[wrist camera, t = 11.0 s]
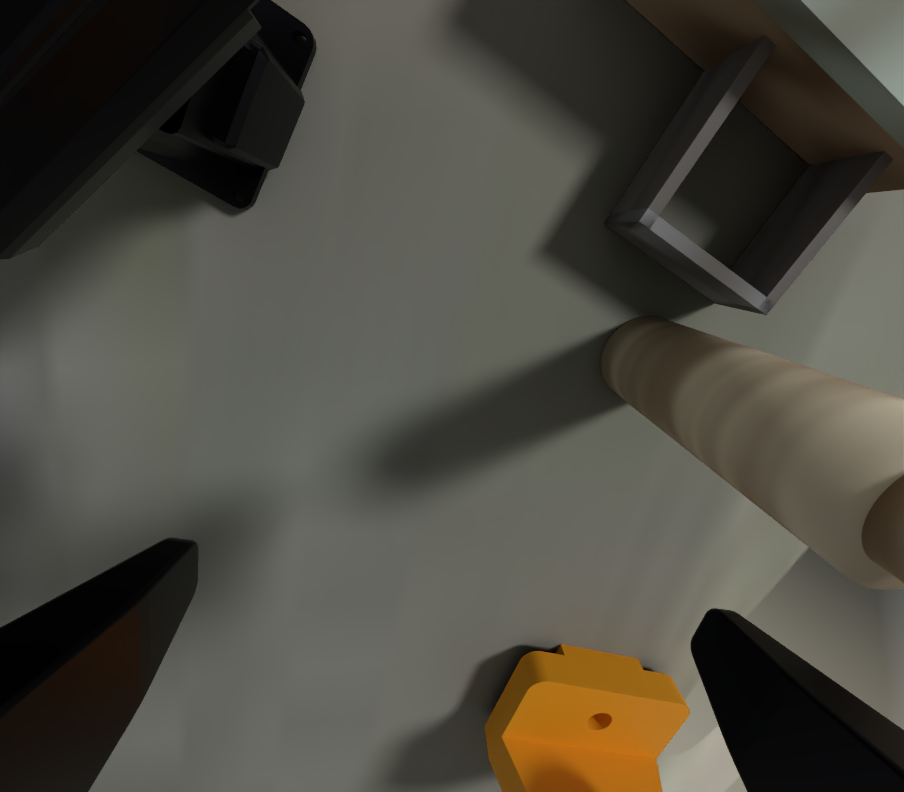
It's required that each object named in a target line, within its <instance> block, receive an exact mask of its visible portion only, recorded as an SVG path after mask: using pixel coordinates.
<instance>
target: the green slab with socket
mask: <svg viewBox="0 0 904 792" xmlns="http://www.w3.org/2000/svg"><path fill="white" fill-rule="evenodd" d="M626 1H627V2H628V3H629V4H630V5H631V6H632V7H633V8H634V9H636V10H637V11H638V12H639V13H640V14H641V15H642V16H643V17H645V18H646V19H647V20H648V21H649V22H650V23H651V24H652V25H653V26H655V27H656V28H657V29H658V30H659V31H660V32H661V33H662V34H664V35H665V36H666V37H667V38H668V39H669V40H670V41H671V42H673V43H674V44H675V45H676V46H677V47H678V48H679V49H680V50H681V51H683V52H684V53H685V54H686V55H687V56H688V57H689V58H690V59H692V60H693V61H694V62H695V63H696V64H697V65H698V66H699V67H700V68H702V69H703V70H704V72H703V73H702V75H701V76H700V78H699V79H698V81H697V82H696V84H695V86H694V87H693V89H692V90H691V92H690V93H689V95H688V96H687V98H686V99H685V101H684V102H683V104H682V105H681V107H680V109H679V110H678V112H677V113H676V115H675V116H674V118H673V119H672V121H671V122H670V124H669V125H668V127H667V128H666V130H665V132H664V133H663V135H662V136H661V138H660V139H659V141H658V142H657V144H656V145H655V147H654V148H653V150H652V151H651V153H650V155H649V156H648V158H647V159H646V161H645V162H644V164H643V165H642V167H641V168H640V170H639V171H638V173H637V174H636V176H635V177H634V179H633V181H632V182H631V184H630V185H629V187H628V188H627V190H626V191H625V193H624V194H623V196H622V197H621V199H620V200H619V202H618V204H617V205H616V207H615V208H614V210H613V211H612V213H611V214H610V216H609V217H608V219H607V220H606V222H605V223H604V224H605V225H606V226H608V227H609V228H611V229H612V230H613V231H615V232H616V233H618V234H619V235H620V236H622V237H623V238H625V239H626V240H627V241H629V242H630V243H632V244H633V245H634V246H636V247H637V248H639V249H640V250H641V251H643V252H644V253H646V254H647V255H648V256H650V257H651V258H652V259H654V260H655V261H657V262H658V263H659V264H661V265H662V266H664V267H665V268H666V269H668V270H669V271H671V272H672V273H673V274H675V275H676V276H678V277H679V278H680V279H682V280H683V281H685V282H686V283H687V284H689V285H690V286H692V287H693V288H694V289H696V290H697V291H699V292H700V293H701V294H703V295H704V296H706V297H707V298H708V299H710V300H711V301H713V302H714V303H715V304H719V305H724V306H728V307H733V308H737V309H742V310H746V311H751V312H755V313H759V314H764V315H767V314H768V312H769V311H770V310H771V309H772V307H773V306H774V305H775V304H776V303H777V301H778V300H779V299H780V298H781V296H782V295H783V294H784V293H785V292H786V290H787V289H788V288H789V287H790V285H791V284H792V283H793V282H794V280H795V279H796V278H797V277H798V276H799V274H800V273H801V272H802V271H803V269H804V268H805V267H806V266H807V265H808V263H809V262H810V261H811V260H812V258H813V257H814V256H815V255H816V254H817V252H818V251H819V250H820V249H821V247H822V246H823V245H824V244H825V243H826V241H827V240H828V239H829V238H830V236H831V235H832V234H833V233H834V232H835V230H836V229H837V228H838V227H839V225H840V224H841V223H842V222H843V221H844V219H845V218H846V217H847V216H848V214H849V213H850V212H851V211H852V209H853V208H854V207H855V206H856V205H857V203H858V202H859V201H860V200H861V198H862V197H863V196H864V195H865V194H866V193H871V192H881V191H891V190H901V189H904V0H626ZM737 101H738V102H740V103H741V104H742V105H743V106H744V107H745V108H746V109H747V110H749V111H750V112H751V113H752V114H753V115H754V116H755V117H756V118H757V119H759V120H760V121H761V122H762V123H763V124H764V125H765V126H766V127H768V128H769V129H770V130H771V131H772V132H773V133H774V134H775V135H776V136H778V137H779V138H780V139H781V140H782V141H783V142H784V143H785V144H787V145H788V146H789V147H790V148H791V149H792V150H793V151H794V152H795V153H797V154H798V155H799V156H800V157H801V158H802V159H803V160H804V161H806V162H807V163H808V164H809V166H808V168H807V169H806V170H805V172H804V173H803V174H802V175H801V177H800V178H799V179H798V181H797V182H796V183H795V185H794V186H793V187H792V189H791V190H790V191H789V192H788V194H787V195H786V196H785V198H784V199H783V200H782V202H781V203H780V204H779V206H778V207H777V208H776V209H775V211H774V212H773V213H772V215H771V216H770V217H769V219H768V220H767V221H766V223H765V224H764V225H763V227H762V228H761V229H760V230H759V232H758V233H757V234H756V236H755V237H754V238H753V240H752V241H751V242H750V244H749V245H748V246H747V247H746V249H745V250H744V251H743V253H742V254H741V255H740V257H739V258H738V259H737V261H736V262H735V263H734V264H733V266H732V267H731V268H730V269H728V268H727V267H726V266H724V265H723V264H722V263H720V262H719V261H718V260H716V259H715V258H714V257H712V256H711V255H710V254H709V253H707V252H706V251H705V250H703V249H702V248H701V247H699V246H698V245H697V244H695V243H694V242H693V241H691V240H690V239H689V238H687V237H686V236H685V235H683V234H682V233H681V232H679V231H678V230H677V229H675V228H674V227H673V226H671V225H670V224H669V223H667V222H666V221H665V220H663V219H662V218H661V217H659V215H660V214H661V212H662V211H663V209H664V208H665V206H666V205H667V203H668V202H669V200H670V199H671V198H672V196H673V195H674V193H675V192H676V190H677V189H678V187H679V186H680V184H681V183H682V182H683V180H684V179H685V177H686V176H687V174H688V173H689V171H690V170H691V168H692V167H693V166H694V164H695V163H696V161H697V160H698V158H699V157H700V155H701V154H702V152H703V151H704V149H705V148H706V147H707V145H708V144H709V142H710V141H711V139H712V138H713V136H714V135H715V133H716V132H717V131H718V129H719V128H720V126H721V125H722V123H723V122H724V120H725V119H726V117H727V116H728V115H729V113H730V112H731V110H732V109H733V107H734V106H735V104H736V103H737Z"/></svg>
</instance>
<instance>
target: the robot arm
mask: <svg viewBox="0 0 904 792" xmlns="http://www.w3.org/2000/svg"><path fill="white" fill-rule="evenodd" d="M298 36H303V37H305V38H306V45H305V47H304V48H302V49H297V48H295V46H294V41H295V39H296V37H298ZM315 52H316V41H315V39H314V37H313V35H312V33H311V31H310V29H309V28H308V27H307V26H306V25H305V24H304V23H302V22H301V21H299V20H298V19H297V18H295V17H294V16H292V15H291V14H289V13H288V12H287V11H285V10H284V9H282V8H281V7H280V6H278V5H277V4H275V3H274V2H273V1H271V0H0V259H9V258H12V257H14V256H17V255H19V254H21V253H24V252H26V251H28V250H31V249H33V248H35V247H38V246H40V245H41V244H42V243H43V242H44V241H45V240H46V239H47V238H48V237H49V236H50V235H51V234H52V233H53V232H54V231H55V230H56V229H57V228H58V227H59V226H60V225H61V224H62V223H63V222H64V221H65V220H66V219H67V218H68V217H69V216H70V215H71V214H72V213H73V212H74V211H75V210H76V209H77V208H78V207H79V206H80V205H81V204H82V203H83V202H84V201H85V200H86V199H87V198H89V197H90V196H91V195H92V194H93V193H94V192H95V191H96V190H97V189H98V188H99V187H100V186H101V185H102V184H103V183H104V182H105V181H106V180H107V179H108V178H109V177H110V176H111V175H112V174H113V173H114V172H115V171H116V170H117V169H118V168H119V167H120V166H121V165H122V164H123V163H124V162H125V161H126V160H127V159H128V158H129V157H130V156H131V155H132V154H133V153H134V152H135V151H138V152H139V153H141V154H143V155H145V156H146V157H148V158H150V159H152V160H153V161H155V162H157V163H159V164H160V165H162V166H164V167H166V168H167V169H169V170H171V171H173V172H174V173H176V174H178V175H180V176H181V177H183V178H185V179H187V180H188V181H190V182H192V183H194V184H195V185H197V186H199V187H201V188H202V189H204V190H206V191H208V192H209V193H211V194H213V195H215V196H216V197H218V198H220V199H222V200H223V201H225V202H227V203H229V204H230V205H232V206H234V207H237V208H240V209H249V208H250V207H252V206H253V205H254V203H255V202H256V199H257V197H258V195H259V192H260V190H261V187H262V185H263V182H264V180H265V177H266V175H267V172H268V170H271V169H275V168H278V167H279V165H280V162H281V160H282V157H283V155H284V153H285V150H286V148H287V145H288V143H289V140H290V138H291V135H292V133H293V131H294V128H295V126H296V123H297V121H298V118H299V116H300V114H301V111H302V109H303V106H304V103H305V101H304V98H303V95H302V92H301V91H300V90H301V88H302V86H303V83H304V81H305V78H306V76H307V73H308V71H309V68H310V66H311V63H312V61H313V58H314V56H315ZM238 188H242V189H244V191H245V193H246V196H245V199H244V200H243V201H239V200H238V199H237V197H236V190H237V189H238ZM197 581H198V545H197V543H196V542H195V541H193V540H187V539H179V538H167V539H164V540H162V541H160V542H158V543H157V544H155V545H153V546H151V547H149V548H147V549H145V550H144V551H142V552H140V553H138V554H136V555H134V556H132V557H131V558H129V559H127V560H125V561H123V562H121V563H119V564H118V565H116V566H114V567H112V568H110V569H108V570H106V571H105V572H103V573H101V574H99V575H97V576H95V577H93V578H92V579H90V580H88V581H86V582H84V583H82V584H80V585H79V586H77V587H75V588H73V589H71V590H69V591H67V592H66V593H64V594H62V595H60V596H58V597H56V598H54V599H52V600H51V601H49V602H47V603H45V604H43V605H41V606H39V607H38V608H36V609H34V610H32V611H30V612H28V613H26V614H25V615H23V616H21V617H19V618H17V619H15V620H13V621H12V622H10V623H8V624H6V625H4V626H2V627H0V792H88V791H89V790H90V788H91V786H92V785H93V783H94V781H95V780H96V778H97V776H98V775H99V773H100V771H101V770H102V768H103V766H104V765H105V763H106V761H107V760H108V758H109V756H110V755H111V753H112V751H113V750H114V748H115V747H116V745H117V743H118V742H119V740H120V738H121V737H122V735H123V733H124V732H125V730H126V728H127V727H128V725H129V723H130V722H131V720H132V718H133V716H134V715H135V713H136V711H137V709H138V708H139V706H140V704H141V702H142V701H143V699H144V697H145V695H146V693H147V691H148V689H149V687H150V685H151V683H152V681H153V679H154V677H155V675H156V672H157V670H158V668H159V666H160V664H161V662H162V660H163V658H164V656H165V654H166V652H167V650H168V648H169V646H170V644H171V642H172V639H173V637H174V635H175V633H176V631H177V629H178V627H179V625H180V623H181V621H182V619H183V617H184V615H185V613H186V611H187V609H188V606H189V604H190V602H191V600H192V598H193V596H194V593H195V590H196V587H197ZM691 652H692V656H693V658H694V661H695V664H696V666H697V669H698V672H699V674H700V677H701V680H702V682H703V685H704V687H705V690H706V692H707V695H708V698H709V701H710V703H711V706H712V709H713V711H714V714H715V716H716V719H717V722H718V725H719V727H720V730H721V732H722V735H723V737H724V740H725V743H726V745H727V748H728V750H729V752H730V755H731V757H732V759H733V761H734V764H735V766H736V768H737V770H738V772H739V775H740V777H741V779H742V781H743V783H744V785H745V787H746V790H747V792H904V730H903V729H901V728H900V727H899V726H897V725H896V724H894V723H893V722H891V721H890V720H889V719H887V718H886V717H884V716H883V715H881V714H880V713H879V712H877V711H876V710H874V709H873V708H871V707H870V706H869V705H867V704H866V703H864V702H863V701H862V700H860V699H859V698H857V697H856V696H854V695H853V694H851V693H850V692H849V691H847V690H846V689H844V688H843V687H842V686H840V685H839V684H837V683H836V682H834V681H833V680H832V679H830V678H829V677H827V676H826V675H824V674H823V673H822V672H820V671H819V670H817V669H816V668H815V667H813V666H812V665H810V664H809V663H808V662H806V661H805V660H803V659H802V658H800V657H799V656H798V655H796V654H795V653H793V652H792V651H790V650H789V649H787V648H786V647H785V646H783V645H782V644H780V643H779V642H778V641H776V640H775V639H773V638H772V637H771V636H769V635H768V634H766V633H765V632H763V631H762V630H761V629H759V628H758V627H756V626H755V625H753V624H752V623H751V622H749V621H748V620H746V619H745V618H743V617H742V616H741V615H739V614H738V613H736V612H734V611H730V610H724V609H716V608H714V609H710V610H709V611H707V613H706V614H705V616H704V618H703V619H702V621H701V623H700V625H699V626H698V628H697V630H696V632H695V634H694V635H693V637H692V639H691Z"/></svg>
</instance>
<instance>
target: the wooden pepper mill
mask: <svg viewBox="0 0 904 792" xmlns="http://www.w3.org/2000/svg"><path fill="white" fill-rule="evenodd" d="M600 367H601V374H602V377H603V379H604V381H605V383H606V384H607V386H608V387H609V388H610V389H611V390H612V391H613V392H615V393H616V394H617V395H618V396H620V397H621V398H622V399H624V400H625V401H626V402H627V403H629V404H630V405H631V406H632V407H634V408H635V409H636V410H637V411H639V412H640V413H641V414H642V415H644V416H645V417H646V418H647V419H649V420H650V421H651V422H652V423H654V424H655V425H656V426H657V427H659V428H660V429H661V430H662V431H664V432H665V433H666V434H667V435H669V436H670V437H671V438H673V439H674V440H675V441H676V442H678V443H679V444H680V445H681V446H683V447H684V448H685V449H686V450H688V451H689V452H690V453H691V454H693V455H694V456H695V457H696V458H698V459H699V460H700V461H701V462H703V463H704V464H705V465H706V466H708V467H709V468H710V469H711V470H713V471H714V472H715V473H716V474H718V475H719V476H720V477H722V478H723V479H724V480H725V481H727V482H728V483H729V484H730V485H732V486H733V487H734V488H735V489H737V490H738V491H739V492H740V493H742V494H743V495H744V496H745V497H747V498H748V499H749V500H750V501H752V502H753V503H754V504H755V505H757V506H758V507H759V508H760V509H762V510H763V511H764V512H765V513H767V514H768V515H769V516H771V517H772V518H773V519H774V520H776V521H777V522H778V523H779V524H781V525H782V526H783V527H784V528H786V529H787V530H788V531H789V532H791V533H792V534H793V535H794V536H796V537H797V538H798V539H799V540H801V541H802V542H803V543H804V544H806V545H807V546H808V547H809V548H811V549H812V550H813V551H814V552H816V553H817V554H818V555H820V556H821V557H822V558H823V559H825V560H826V561H827V562H828V563H830V564H831V565H832V566H833V567H835V568H836V569H837V570H838V571H840V572H841V573H842V574H843V575H845V576H846V577H847V578H849V579H850V580H852V581H853V582H854V583H857V584H859V585H861V586H864V587H868V588H873V589H880V590H893V589H902V588H904V399H901V398H898V397H895V396H892V395H889V394H886V393H883V392H880V391H877V390H874V389H871V388H868V387H865V386H863V385H860V384H857V383H854V382H851V381H848V380H845V379H842V378H839V377H836V376H833V375H830V374H827V373H824V372H821V371H818V370H815V369H812V368H809V367H806V366H803V365H800V364H797V363H794V362H791V361H788V360H785V359H782V358H779V357H776V356H773V355H770V354H767V353H764V352H761V351H758V350H755V349H752V348H749V347H746V346H743V345H740V344H737V343H734V342H731V341H728V340H725V339H722V338H719V337H716V336H713V335H710V334H707V333H704V332H701V331H698V330H695V329H692V328H689V327H686V326H683V325H680V324H678V323H675V322H672V321H669V320H666V319H663V318H660V317H655V316H644V317H639V318H635V319H632V320H630V321H628V322H626V323H625V324H623V325H622V326H620V327H619V328H618V329H617V330H616V331H615V332H614V333H613V334H612V335H611V336H610V338H609V339H608V341H607V342H606V344H605V346H604V348H603V351H602V355H601V361H600Z"/></svg>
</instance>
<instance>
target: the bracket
mask: <svg viewBox="0 0 904 792" xmlns="http://www.w3.org/2000/svg"><path fill="white" fill-rule="evenodd" d="M689 714H690V710H689V708H688V706H687V704H686V702H685V701H684V699H683V697H682V695H681V694H680V692H679V690H678V688H677V687H676V685H675V683H674V681H673V680H672V678H671V677H670V676H669V675H667V674H662V673H657V672H651V671H646V670H643V668H642V666H641V664H640V662H639V660H638V659H637V658H631V657H626V656H621V655H616V654H610V653H605V652H600V651H595V650H589V649H584V648H579V647H573V646H568V645H563V644H561V645H560V647H559V648H558V650H557V652H556V654H554V653H549V652H543V651H533V652H530V653H527V654H526V655H524V656H523V657H522V658H521V659H520V661H519V663H518V665H517V667H516V668H515V670H514V672H513V674H512V676H511V678H510V680H509V681H508V683H507V685H506V687H505V689H504V691H503V693H502V695H501V696H500V698H499V700H498V702H497V704H496V706H495V708H494V710H493V711H492V713H491V715H490V717H489V719H488V721H487V723H486V725H485V734H486V741H487V749H488V756H489V761H490V763H491V766H492V768H493V770H494V773H495V775H496V777H497V780H498V782H499V785H500V787H501V789H502V792H662V787H661V782H660V776H659V771H658V765H657V760H656V759H657V757H658V756H659V755H660V753H661V752H662V751H663V749H664V748H665V747H666V745H667V744H668V743H669V741H670V740H671V739H672V738H673V736H674V735H675V733H676V732H677V731H678V730H679V728H680V727H681V726H682V724H683V723H684V722H685V720H686V719H687V718H688V716H689Z"/></svg>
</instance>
